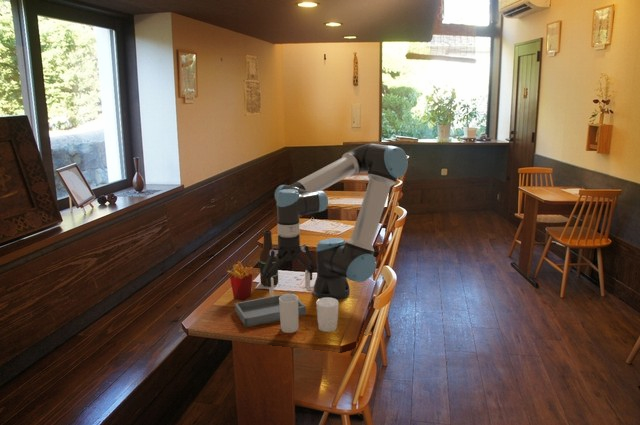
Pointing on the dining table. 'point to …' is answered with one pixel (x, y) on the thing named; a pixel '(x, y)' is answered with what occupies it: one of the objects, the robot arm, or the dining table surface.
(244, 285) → the french fries
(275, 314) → the tray
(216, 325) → the dining table surface
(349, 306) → the dining table surface
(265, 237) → the beer bottle
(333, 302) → the white cup
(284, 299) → the mug
